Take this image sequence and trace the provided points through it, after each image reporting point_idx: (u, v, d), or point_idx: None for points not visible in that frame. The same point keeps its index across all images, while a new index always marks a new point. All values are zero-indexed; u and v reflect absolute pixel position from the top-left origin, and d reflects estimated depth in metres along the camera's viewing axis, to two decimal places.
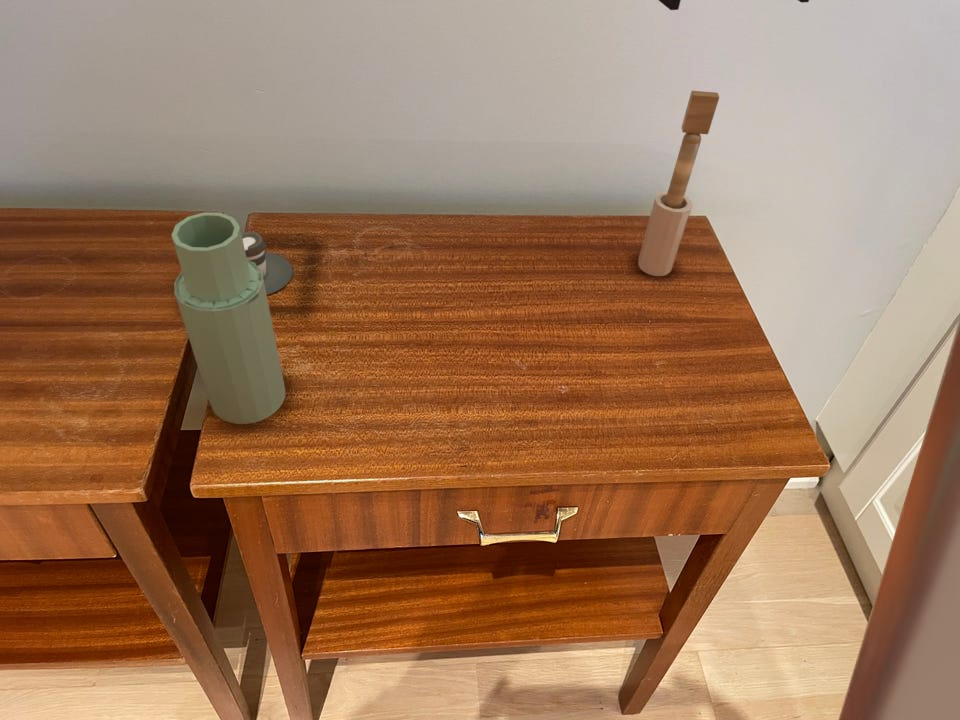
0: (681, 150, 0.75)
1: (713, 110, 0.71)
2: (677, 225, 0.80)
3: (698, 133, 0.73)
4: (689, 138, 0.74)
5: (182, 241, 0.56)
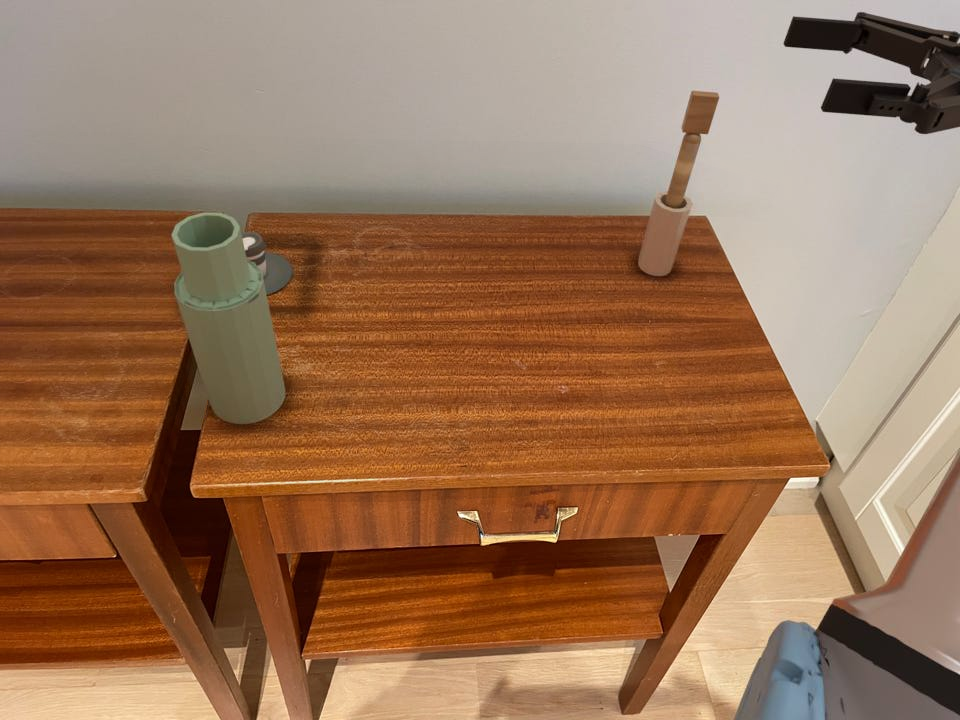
0: (681, 150, 0.75)
1: (713, 110, 0.71)
2: (677, 225, 0.80)
3: (698, 133, 0.73)
4: (689, 138, 0.74)
5: (182, 241, 0.56)
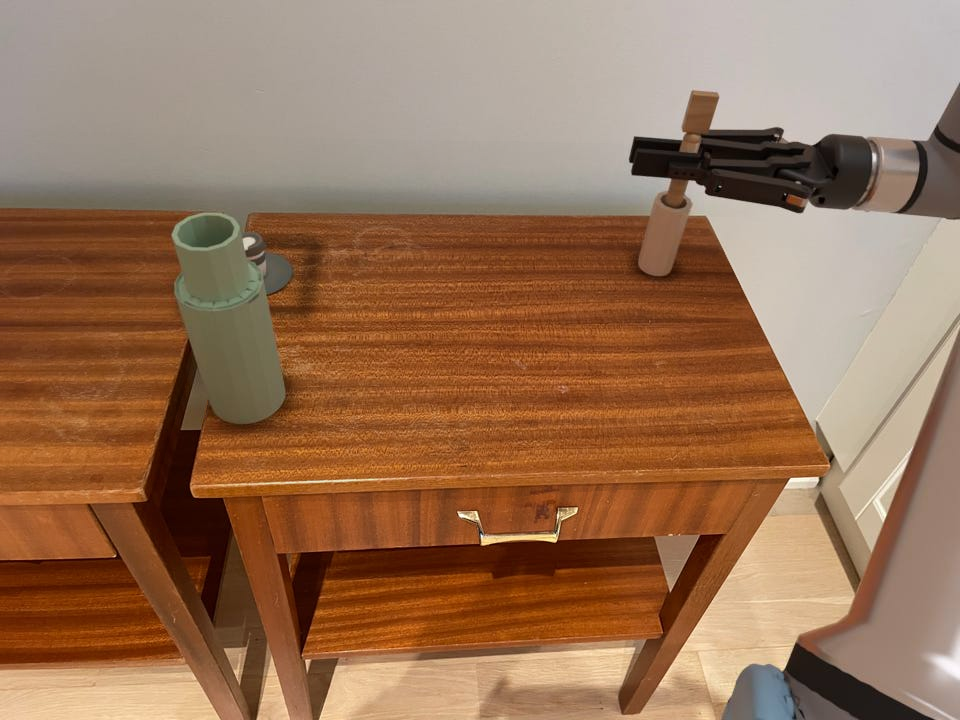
0: (681, 150, 0.75)
1: (713, 110, 0.71)
2: (677, 225, 0.80)
3: (698, 133, 0.73)
4: (689, 138, 0.74)
5: (182, 241, 0.56)
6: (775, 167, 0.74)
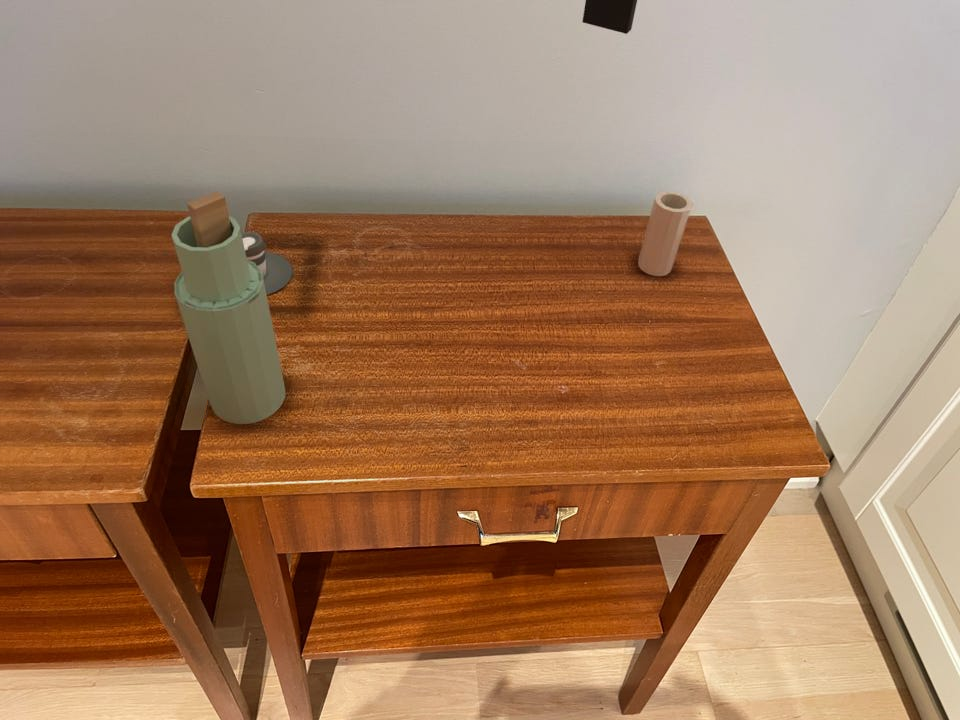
0: None
1: (226, 213, 0.55)
2: (677, 225, 0.80)
3: None
4: None
5: (182, 241, 0.56)
6: None
